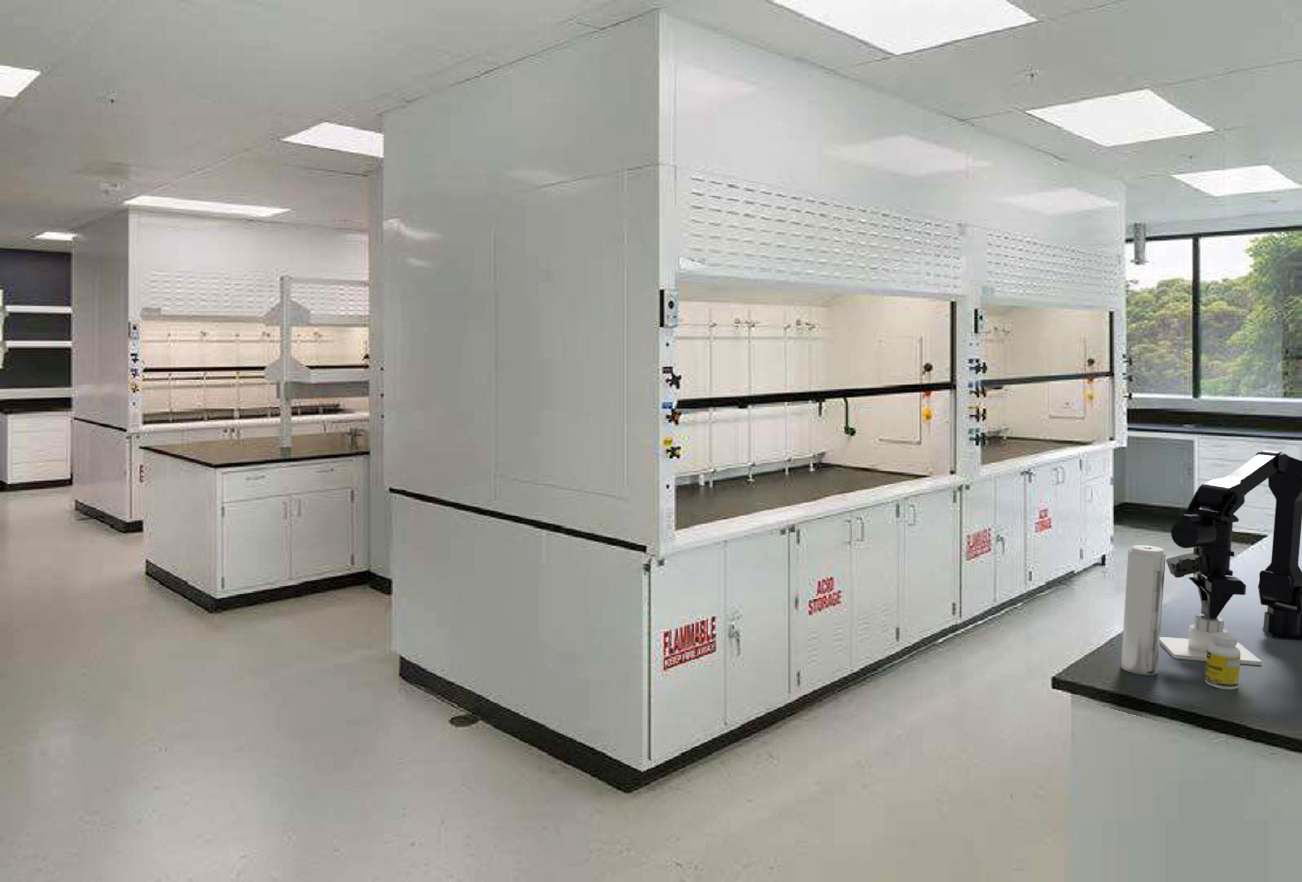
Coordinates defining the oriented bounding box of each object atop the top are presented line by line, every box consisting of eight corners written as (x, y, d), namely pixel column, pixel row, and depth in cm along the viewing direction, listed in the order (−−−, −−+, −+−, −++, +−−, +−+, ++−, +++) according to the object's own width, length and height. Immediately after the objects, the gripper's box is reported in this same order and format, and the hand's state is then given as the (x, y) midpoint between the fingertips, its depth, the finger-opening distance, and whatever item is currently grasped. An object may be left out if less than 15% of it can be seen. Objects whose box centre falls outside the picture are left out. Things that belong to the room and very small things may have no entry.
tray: (1238, 646, 193) (1238, 642, 193) (1261, 665, 182) (1261, 661, 182) (1156, 640, 197) (1156, 636, 197) (1174, 658, 185) (1174, 654, 185)
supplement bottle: (1198, 680, 173) (1201, 631, 172) (1224, 679, 174) (1228, 630, 173) (1218, 690, 168) (1221, 640, 167) (1245, 690, 169) (1248, 639, 168)
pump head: (1214, 627, 190) (1216, 600, 189) (1219, 632, 187) (1221, 605, 186) (1197, 626, 191) (1199, 599, 190) (1202, 630, 188) (1204, 603, 187)
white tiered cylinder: (1219, 644, 192) (1221, 614, 191) (1232, 655, 185) (1234, 624, 184) (1183, 641, 193) (1185, 611, 193) (1194, 652, 187) (1196, 621, 186)
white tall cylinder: (1154, 666, 181) (1162, 545, 178) (1160, 677, 175) (1169, 552, 172) (1118, 662, 183) (1125, 542, 180) (1123, 673, 177) (1131, 549, 174)
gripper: (1158, 532, 198) (1154, 601, 199) (1187, 551, 180) (1181, 626, 181) (1215, 535, 195) (1209, 604, 197) (1249, 554, 177) (1243, 631, 179)
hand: (1209, 616), depth 189 cm, fingers closed on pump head, 3 cm apart
